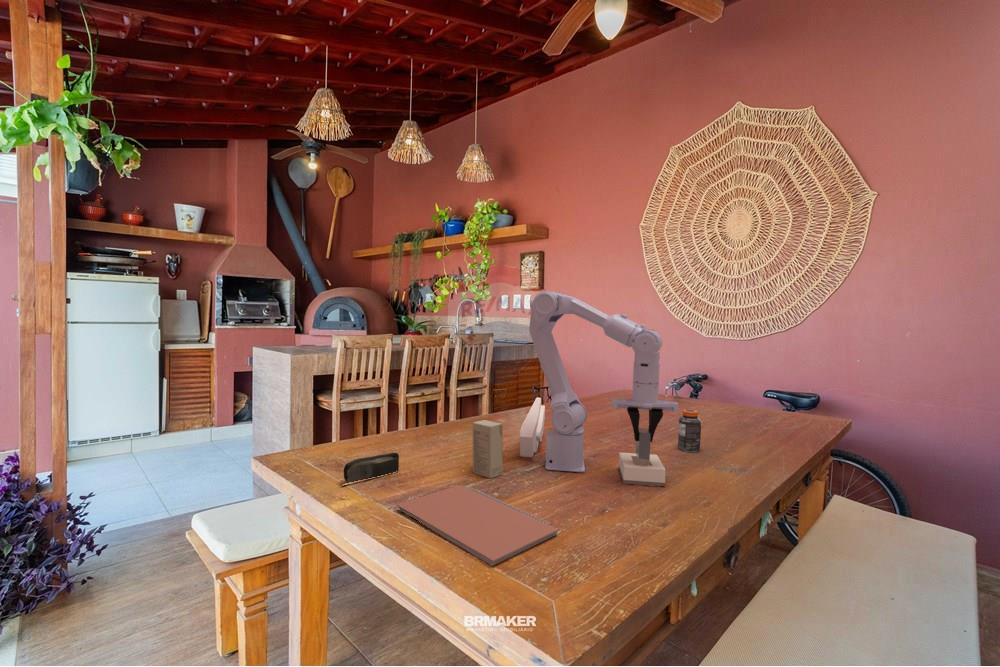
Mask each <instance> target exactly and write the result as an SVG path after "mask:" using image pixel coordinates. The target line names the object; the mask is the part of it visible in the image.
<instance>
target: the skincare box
mask: <svg viewBox="0 0 1000 667" xmlns="http://www.w3.org/2000/svg"><path fill="white" fill-rule="evenodd" d="M503 428H504V426H503V423H501V422H497V421H491V420H486V419H483V420H478V421H474V422H472V473H474V474H475V475H476V474H477V475H479V476H483V477H485V478H488V479H493V478H495V477H499V476H501V475H503V474H504V473H503V472H504V470H503V466H504V465H503V464H504V460H503V459H504V458H503V456H504V454H503V451H504V450H503V449H504V448H503V447H504V445H503V444H504V443H503V440H504V438H503V434H504V433H503Z"/></svg>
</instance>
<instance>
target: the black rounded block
mask: <svg viewBox="0 0 1000 667" xmlns="http://www.w3.org/2000/svg"><path fill="white" fill-rule="evenodd" d="M399 458H400V456H399V454H398V453H397V452H390V453H383V454H378V455H373V456H367V457H366V456H365V457H360V458H359V457H358V458H356V459H353V460H352V461H349V462H347V463H346V464H345V465H344V467H343V478H344V481H345V482H344V483H349V482H354V481H358V480H363V479H368V478H372V477H377V476H381V475H385V474H389V473H393V472H396V471H398V472H399V469H400V461H399V460H400V459H399Z"/></svg>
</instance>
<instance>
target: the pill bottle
mask: <svg viewBox="0 0 1000 667" xmlns="http://www.w3.org/2000/svg"><path fill="white" fill-rule="evenodd" d="M698 416H699V411H698V410H696V409H695V410H694V409H689V408H688V409H683V410H682V416H681V417H679V420H678V434H677V436H678V438H677V441H678V442H677V448H678V449H679V451H682V452H686V453H698V452H701V441H702V440H701V438H702V437H701V435H702V433H701V432H702V420H701V419H700V418H699V417H698Z"/></svg>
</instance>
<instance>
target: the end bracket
mask: <svg viewBox="0 0 1000 667" xmlns="http://www.w3.org/2000/svg"><path fill="white" fill-rule="evenodd" d="M648 429H649V428H643V427H639V441H635V453H636V454H637V456H638V458H639V459H648V460H650V454H651V442H650V437H651V433H650V432H649V430H648Z"/></svg>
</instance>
